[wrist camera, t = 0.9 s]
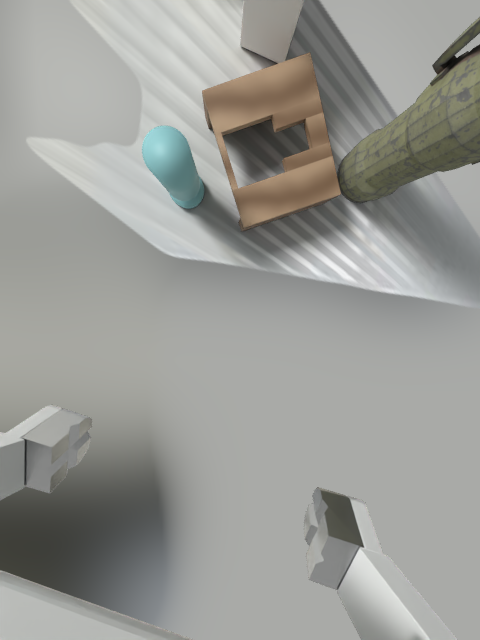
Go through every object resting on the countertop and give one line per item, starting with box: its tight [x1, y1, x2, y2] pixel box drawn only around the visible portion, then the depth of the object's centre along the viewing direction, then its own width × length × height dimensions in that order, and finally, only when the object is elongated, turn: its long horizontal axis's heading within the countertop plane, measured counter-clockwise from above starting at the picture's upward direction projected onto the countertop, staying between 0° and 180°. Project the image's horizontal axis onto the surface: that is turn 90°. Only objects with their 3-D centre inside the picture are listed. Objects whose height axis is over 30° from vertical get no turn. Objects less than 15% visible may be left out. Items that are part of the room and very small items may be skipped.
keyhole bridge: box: [202, 52, 341, 232], centre depth 40 cm, size 18×15×7 cm
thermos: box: [337, 17, 480, 203], centre depth 28 cm, size 9×12×35 cm
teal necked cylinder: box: [142, 126, 204, 209], centre depth 36 cm, size 6×6×16 cm
